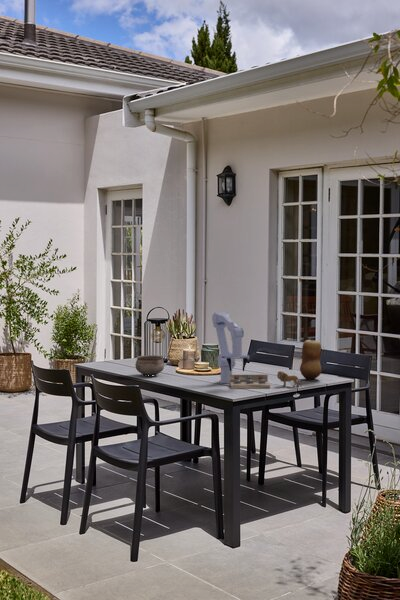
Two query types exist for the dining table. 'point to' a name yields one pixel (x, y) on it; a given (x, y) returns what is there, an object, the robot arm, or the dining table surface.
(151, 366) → the brown footed bowl
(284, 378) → the lion figurine
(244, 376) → the button board
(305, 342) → the butternut squash
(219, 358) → the robot arm
